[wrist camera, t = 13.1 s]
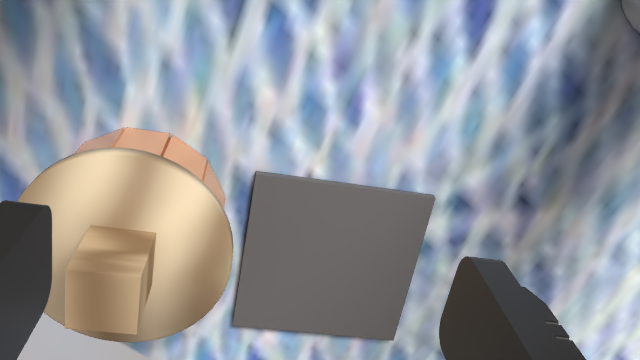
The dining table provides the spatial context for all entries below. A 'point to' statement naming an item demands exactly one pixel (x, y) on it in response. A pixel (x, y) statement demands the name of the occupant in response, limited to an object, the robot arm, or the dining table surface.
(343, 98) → the dining table surface
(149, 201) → the oak lid
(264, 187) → the rubber mat
